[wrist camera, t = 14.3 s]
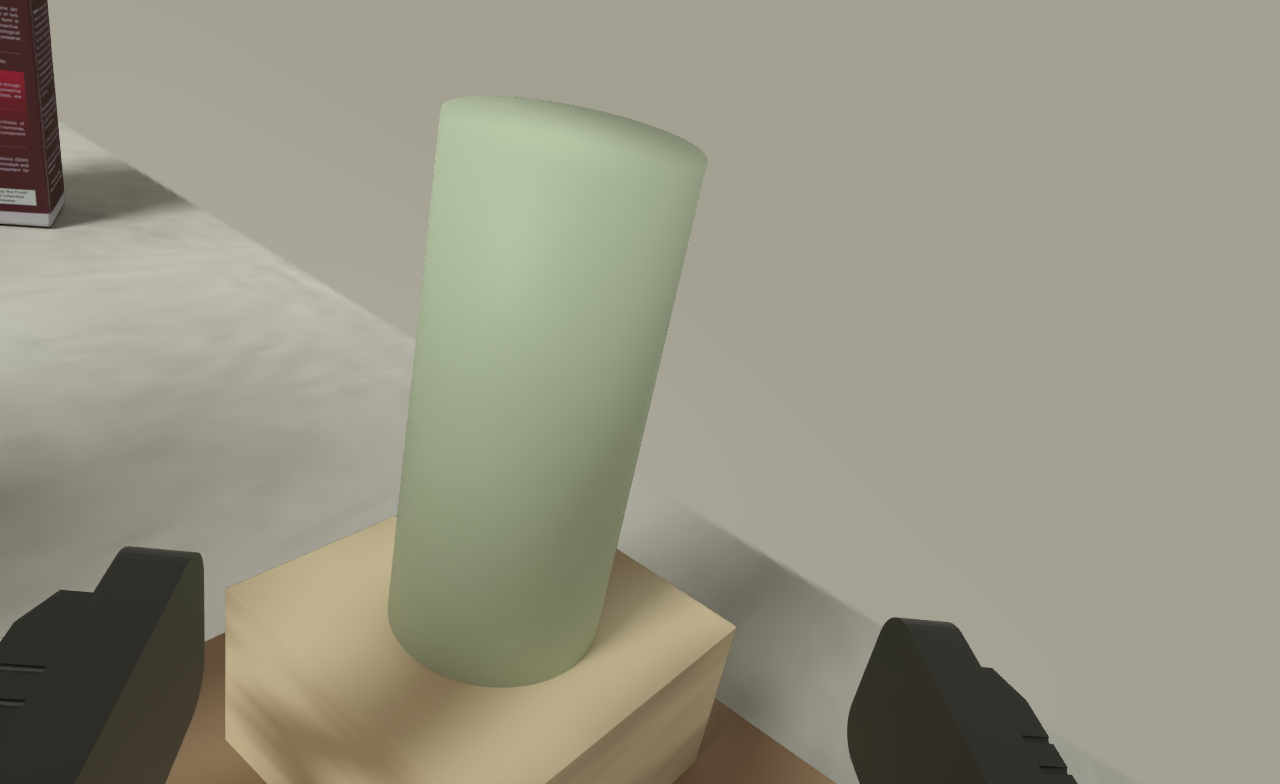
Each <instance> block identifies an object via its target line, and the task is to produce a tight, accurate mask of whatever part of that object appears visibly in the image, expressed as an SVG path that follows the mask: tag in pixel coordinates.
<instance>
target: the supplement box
mask: <svg viewBox="0 0 1280 784" xmlns="http://www.w3.org/2000/svg"><path fill="white" fill-rule="evenodd" d="M64 202H65V198H64V183H63V173H62V162H61V151H60V140H59V129H58V117H57V106H56V95H55V85H54V73H53V62H52V51H51V37H50V26H49V16H48V4H47V0H0V224H14V225H29V226H44V227H50V226H51V225H52V223H53V222H54V220H55V218H56V216H57V215H58V213H59V211H60V209H61V208H62V206H63V204H64Z"/></svg>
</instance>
